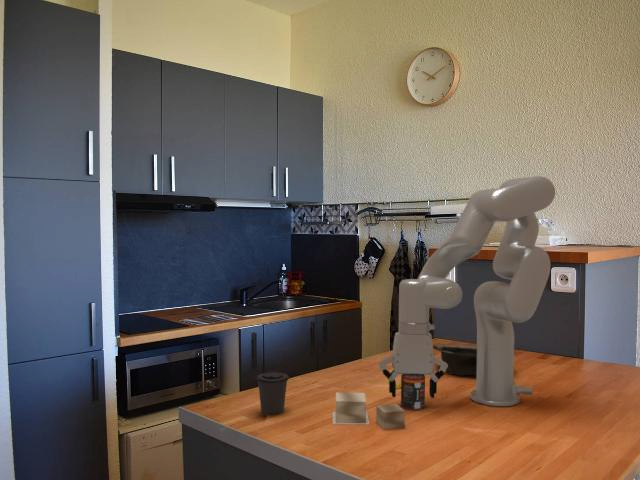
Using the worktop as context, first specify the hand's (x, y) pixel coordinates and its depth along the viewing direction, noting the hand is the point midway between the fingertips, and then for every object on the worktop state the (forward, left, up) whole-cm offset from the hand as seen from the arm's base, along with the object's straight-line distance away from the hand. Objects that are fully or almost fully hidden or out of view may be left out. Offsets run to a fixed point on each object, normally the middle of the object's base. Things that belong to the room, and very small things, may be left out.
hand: (412, 396), depth 144 cm
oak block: (+7, +13, -3) cm, 15 cm away
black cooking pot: (-24, -40, -4) cm, 47 cm away
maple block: (+16, +9, -3) cm, 18 cm away
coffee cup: (+35, +5, -4) cm, 35 cm away
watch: (+2, -19, -4) cm, 19 cm away
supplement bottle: (0, 0, -4) cm, 4 cm away
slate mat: (+14, +8, -3) cm, 16 cm away
